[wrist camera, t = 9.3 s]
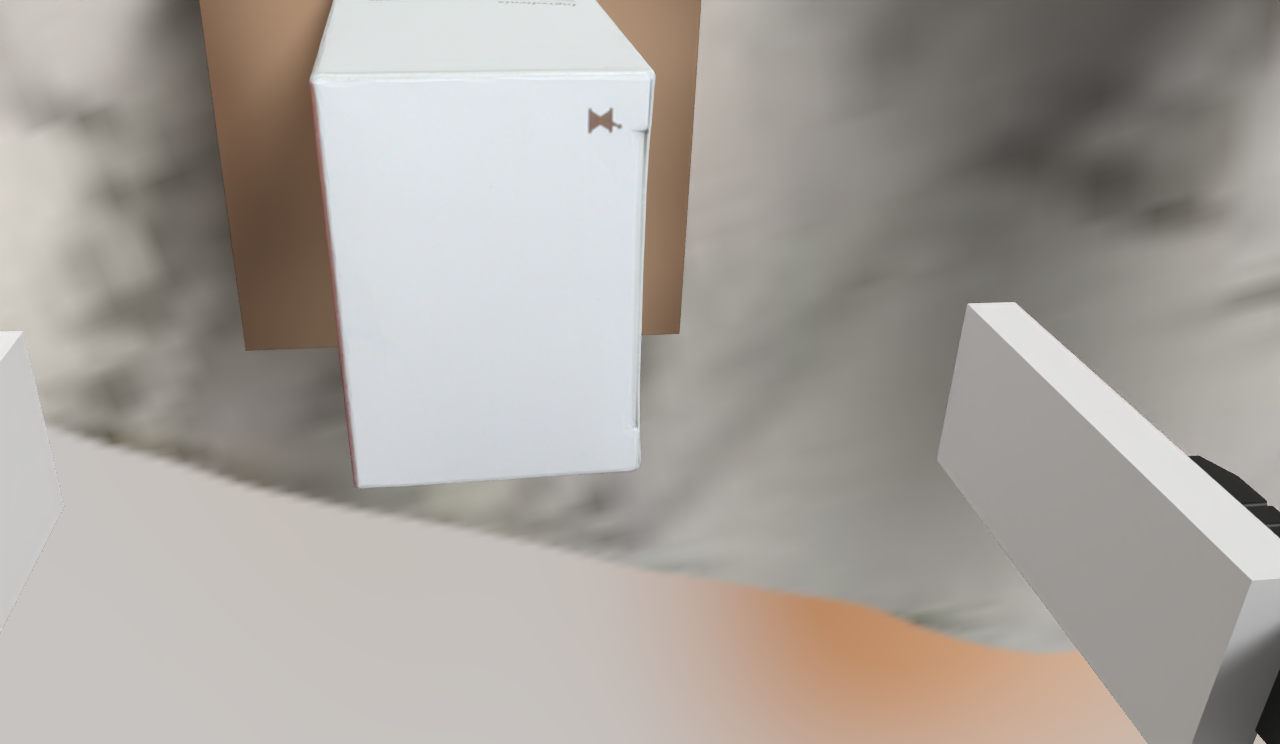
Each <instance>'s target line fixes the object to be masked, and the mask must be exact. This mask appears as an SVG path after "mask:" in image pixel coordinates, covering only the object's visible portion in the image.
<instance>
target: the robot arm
mask: <svg viewBox="0 0 1280 744" xmlns="http://www.w3.org/2000/svg"><path fill="white" fill-rule="evenodd" d="M937 461H938V463H939V464H940V465H941V467H942V468H943V469H944V471H945V472H946V473H947V475H948V476H949V477H950V479H951V480H952V481H953V483H954V484H955V485H956V487H957V488H958V489H959V491H960V492H961V493H962V495H963V496H964V497H965V499H966V500H967V501H968V503H969V504H970V505H971V507H972V508H973V510H974V511H975V512H976V514H977V515H978V516H979V518H980V519H981V520H982V522H983V523H984V524H985V526H986V527H987V528H988V530H989V531H990V532H991V534H992V535H993V536H994V538H995V539H996V540H997V542H998V543H999V544H1000V546H1001V547H1002V548H1003V550H1004V551H1005V552H1006V554H1007V555H1008V556H1009V558H1010V559H1011V560H1012V562H1013V563H1014V565H1015V566H1016V567H1017V569H1018V570H1019V571H1020V573H1021V574H1022V575H1023V577H1024V578H1025V579H1026V581H1027V582H1028V583H1029V585H1030V586H1031V587H1032V589H1033V590H1034V591H1035V593H1036V594H1037V595H1038V597H1039V598H1040V599H1041V601H1042V602H1043V603H1044V605H1045V606H1046V607H1047V609H1048V610H1049V611H1050V613H1051V614H1052V615H1053V617H1054V618H1055V620H1056V621H1057V622H1058V624H1059V625H1060V626H1061V628H1062V629H1063V630H1064V632H1065V633H1066V634H1067V636H1068V637H1069V638H1070V640H1071V641H1072V642H1073V644H1074V645H1075V646H1076V648H1077V649H1078V650H1079V652H1080V653H1081V654H1082V656H1083V657H1084V658H1085V660H1086V661H1087V662H1088V664H1089V665H1090V666H1091V668H1092V669H1093V671H1094V672H1095V673H1096V674H1097V676H1098V677H1099V679H1100V680H1101V681H1102V683H1103V684H1104V685H1105V687H1106V688H1107V689H1108V690H1109V692H1110V693H1111V695H1112V696H1113V697H1114V698H1115V700H1116V701H1117V702H1118V704H1119V705H1120V707H1121V708H1122V709H1123V711H1124V712H1125V713H1126V715H1127V716H1128V717H1129V719H1130V720H1131V721H1132V723H1133V724H1134V725H1135V727H1136V728H1137V730H1138V731H1139V732H1140V733H1141V735H1142V736H1143V737H1144V739H1145V740H1146V742H1147V743H1148V744H1253V742H1254V740H1255V738H1256V735H1257V733H1258V735H1260V737H1261V738H1262V739H1263V740H1264V741H1265V742H1266V744H1280V512H1279V511H1278V510H1277V509H1276V508H1274V507H1273V506H1267V501H1266V500H1265V499H1264V498H1263V497H1262V496H1260V495H1259V494H1258V493H1257V492H1256V491H1255V490H1253V489H1252V488H1251V487H1250V486H1249V485H1248V484H1246V483H1245V482H1244V481H1243V480H1242V479H1241V478H1239V477H1238V476H1236V475H1235V474H1233V473H1231V472H1229V471H1227V470H1225V469H1223V468H1221V467H1219V466H1217V465H1216V464H1214V463H1212V462H1210V461H1208V460H1206V459H1204V458H1202V457H1200V456H1187V455H1186V454H1185V453H1184V452H1182V451H1181V450H1180V449H1179V448H1178V447H1177V446H1176V445H1175V444H1173V443H1172V442H1171V441H1170V440H1169V439H1168V438H1167V437H1166V436H1164V435H1163V434H1162V433H1161V432H1160V431H1159V430H1158V429H1157V428H1155V427H1154V426H1153V425H1152V424H1151V423H1150V422H1149V421H1148V420H1146V419H1145V418H1144V417H1143V416H1142V415H1141V414H1140V413H1139V412H1138V411H1136V410H1135V409H1134V408H1133V407H1132V406H1131V405H1130V404H1129V403H1127V402H1126V401H1125V400H1124V399H1123V398H1122V397H1121V396H1120V395H1118V394H1117V393H1116V392H1115V391H1114V390H1113V389H1112V388H1111V387H1109V386H1108V385H1107V384H1106V383H1105V382H1104V381H1103V380H1102V379H1100V378H1099V377H1098V376H1097V375H1096V374H1095V373H1094V372H1093V371H1092V370H1090V369H1089V368H1088V367H1087V366H1086V365H1085V364H1084V363H1083V362H1081V361H1080V360H1079V359H1078V358H1077V357H1076V356H1075V355H1074V354H1072V353H1071V352H1070V351H1069V350H1068V349H1067V348H1066V347H1065V346H1063V345H1062V344H1061V343H1060V342H1059V341H1058V340H1057V339H1056V338H1054V337H1053V336H1052V335H1051V334H1050V333H1049V332H1048V331H1047V330H1045V329H1044V328H1043V327H1042V326H1041V325H1040V324H1039V323H1038V322H1037V321H1035V320H1034V319H1033V318H1032V317H1031V316H1030V315H1029V314H1028V313H1026V312H1025V311H1024V310H1023V309H1022V308H1021V307H1020V306H1019V305H1017V304H1016V303H1015V302H1001V303H967V307H966V312H965V317H964V322H963V327H962V332H961V338H960V343H959V348H958V353H957V358H956V363H955V368H954V373H953V378H952V383H951V389H950V394H949V399H948V404H947V409H946V414H945V419H944V424H943V429H942V434H941V440H940V445H939V450H938V455H937ZM63 509H64V503H63V498H62V494H61V490H60V485H59V481H58V477H57V473H56V469H55V465H54V460H53V456H52V452H51V447H50V443H49V439H48V435H47V430H46V426H45V422H44V417H43V413H42V409H41V405H40V400H39V396H38V392H37V388H36V383H35V379H34V375H33V371H32V366H31V362H30V358H29V354H28V349H27V345H26V341H25V336H24V332H23V331H6V332H0V633H1V631H2V629H3V627H4V625H5V623H6V621H7V619H8V617H9V615H10V613H11V611H12V609H13V607H14V605H15V603H16V601H17V599H18V597H19V595H20V593H21V591H22V589H23V588H24V586H25V584H26V582H27V580H28V578H29V576H30V574H31V572H32V570H33V568H34V566H35V564H36V562H37V560H38V558H39V556H40V554H41V552H42V550H43V548H44V546H45V544H46V542H47V540H48V538H49V536H50V534H51V532H52V530H53V528H54V526H55V524H56V522H57V520H58V518H59V516H60V515H61V513H62V511H63Z"/></svg>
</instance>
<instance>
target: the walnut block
mask: <svg viewBox="0 0 1280 744" xmlns="http://www.w3.org/2000/svg"><path fill="white" fill-rule="evenodd" d="M596 1H597V2H598V4H599V5H600V6H601V7H602V9H603V10H604V11H605V12H606V13H607V14H608V16H609V17H610V18H611V19H612V21H613V22H614V23H615V24H616V26H617V27H618V28H619V30H620V31H621V32H622V33H623V34H624V36H625V37H626V38H627V39H628V40H629V42H630V43H631V44H632V45H633V46H634V47H635V49H636V50H637V51H638V53H639V54H640V55H641V56H642V57H643V59H644V60H645V61H646V62H647V64H648V65H649V66H650V67H651V68H652V70H653V71H654V73H655V75H656V79H655V88H654V100H653V113H652V125H651V134H650V146H649V159H648V176H647V193H646V220H645V243H644V267H643V300H642V334H641V335H660V334H679V331H680V316H681V300H682V285H683V270H684V255H685V240H686V225H687V209H688V194H689V179H690V164H691V149H692V134H693V118H694V103H695V88H696V73H697V58H698V43H699V27H700V12H701V0H596ZM332 2H333V0H199V3H200V10H201V18H202V25H203V33H204V40H205V48H206V55H207V63H208V70H209V78H210V85H211V93H212V100H213V108H214V115H215V123H216V130H217V138H218V145H219V153H220V160H221V168H222V175H223V183H224V190H225V198H226V205H227V213H228V220H229V227H230V235H231V242H232V250H233V257H234V265H235V272H236V280H237V287H238V295H239V302H240V310H241V317H242V325H243V332H244V340H245V347H246V351H248V350H274V349H300V348H326V347H338V338H337V329H336V320H335V311H334V302H333V293H332V284H331V276H330V267H329V258H328V249H327V240H326V231H325V222H324V213H323V204H322V194H321V184H320V175H319V165H318V157H317V148H316V140H315V131H314V122H313V113H312V103H311V94H310V87H309V79H310V76H311V73H312V70H313V67H314V64H315V60H316V57H317V54H318V50H319V47H320V43H321V40H322V36H323V33H324V29H325V26H326V22H327V19H328V16H329V13H330V9H331V6H332Z"/></svg>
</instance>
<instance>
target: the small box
mask: <svg viewBox="0 0 1280 744" xmlns="http://www.w3.org/2000/svg"><path fill="white" fill-rule="evenodd" d="M655 79H656V75H655V73H654V71H653V70H652V68H651V67H650V66H649V65H648V64H647V62H646V61H645V60H644V59H643V57H642V56H641V55H640V54H639V53H638V51H637V50H636V49H635V47H634V46H633V45H632V44H631V43H630V42H629V40H628V39H627V38H626V37H625V36H624V34H623V33H622V32H621V31H620V30H619V28H618V27H617V26H616V24H615V23H614V22H613V21H612V19H611V18H610V17H609V16H608V14H607V13H606V12H605V11H604V10H603V9H602V7H601V6H600V5H599V4H598V2H597V1H596V0H333V2H332V6H331V9H330V13H329V16H328V19H327V22H326V26H325V29H324V33H323V36H322V40H321V43H320V47H319V50H318V54H317V57H316V60H315V64H314V67H313V70H312V73H311V76H310V79H309V87H310V94H311V103H312V113H313V122H314V131H315V140H316V148H317V157H318V165H319V175H320V184H321V194H322V204H323V213H324V222H325V231H326V240H327V249H328V258H329V267H330V276H331V284H332V293H333V302H334V311H335V320H336V329H337V338H338V347H339V356H340V365H341V373H342V382H343V391H344V400H345V410H346V419H347V428H348V437H349V446H350V454H351V463H352V472H353V482H354V487H356V488H360V489H362V488H375V487H399V486H415V485H431V484H444V483H458V482H474V481H489V480H504V479H518V478H533V477H547V476H563V475H580V474H597V473H615V472H631V471H635V470H637V469H638V468H639V467H640V464H641V445H640V361H641V334H642V300H643V267H644V243H645V220H646V193H647V176H648V159H649V146H650V134H651V125H652V113H653V100H654V88H655Z"/></svg>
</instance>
